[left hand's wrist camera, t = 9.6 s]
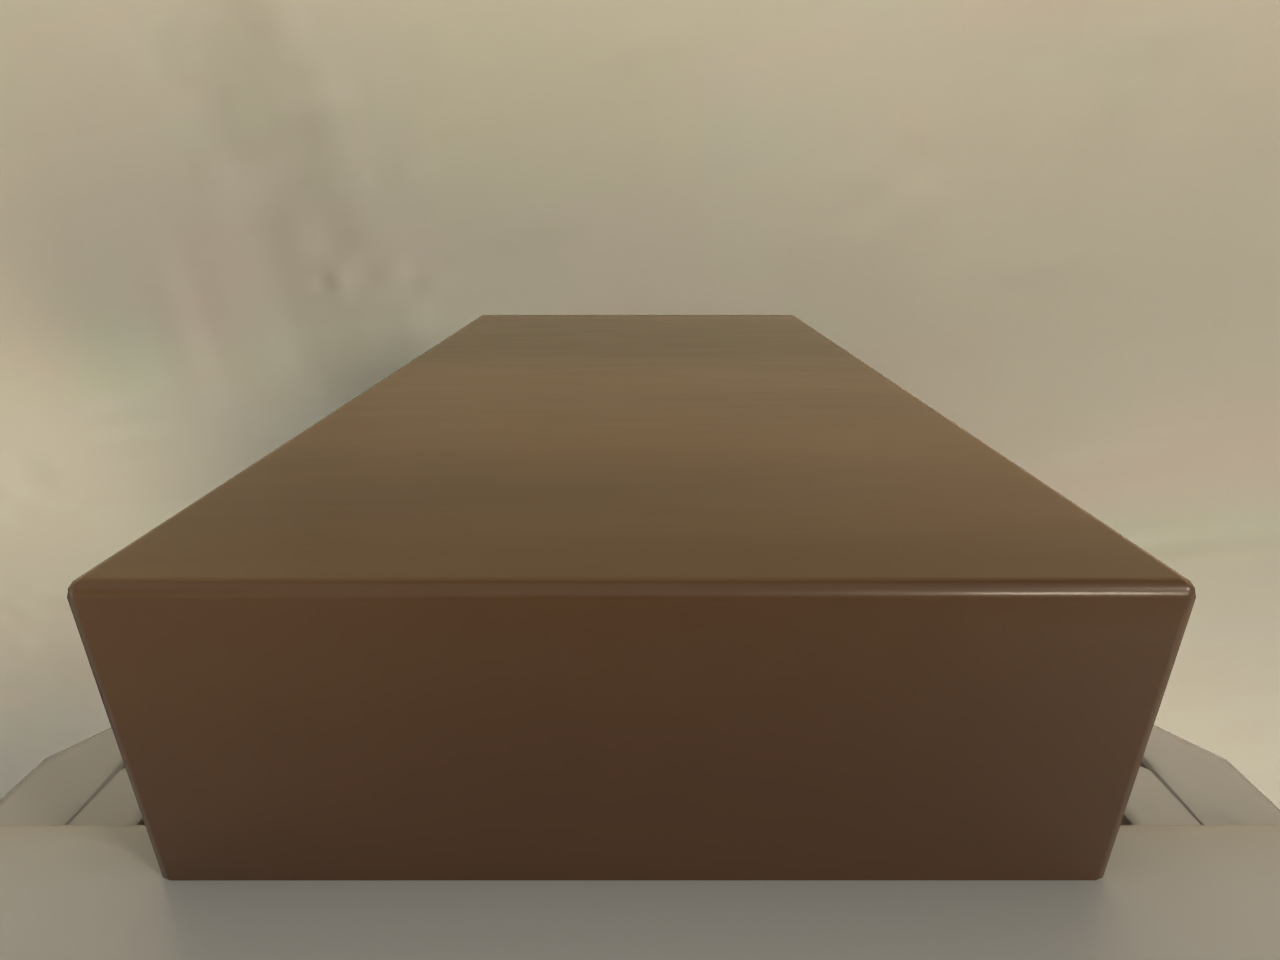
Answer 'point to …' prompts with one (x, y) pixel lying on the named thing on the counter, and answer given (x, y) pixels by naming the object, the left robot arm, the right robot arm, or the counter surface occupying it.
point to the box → (632, 629)
